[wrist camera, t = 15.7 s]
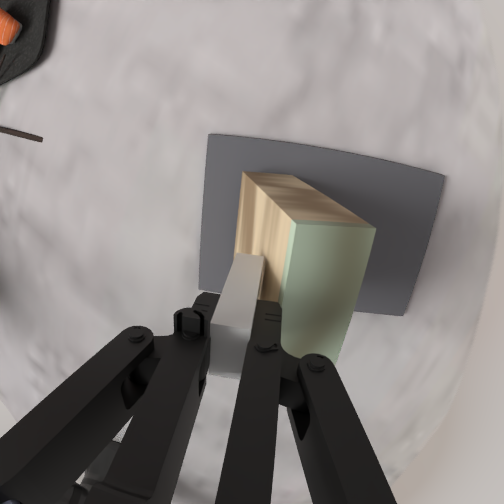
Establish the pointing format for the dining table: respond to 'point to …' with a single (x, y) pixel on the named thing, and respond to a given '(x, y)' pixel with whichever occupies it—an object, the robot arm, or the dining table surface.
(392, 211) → the rubber mat
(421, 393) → the dining table surface
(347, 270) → the oak slab
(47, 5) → the sushi plate
